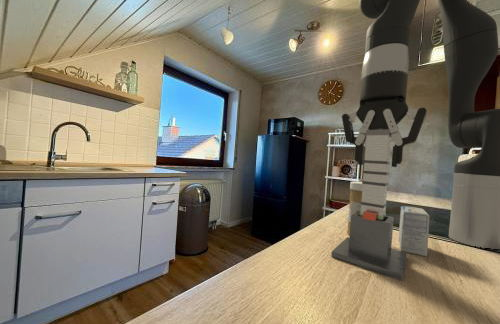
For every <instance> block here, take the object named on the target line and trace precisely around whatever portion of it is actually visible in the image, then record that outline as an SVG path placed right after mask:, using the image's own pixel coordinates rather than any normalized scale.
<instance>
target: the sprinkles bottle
mask: <svg viewBox="0 0 500 324" xmlns="http://www.w3.org/2000/svg"><path fill="white" fill-rule="evenodd" d="M349 183H350V185H349V189H350V194H349V205H348V213H347V230H346V233H347V234H348V235H349V236H350V227H351V215H353V214H354V213H356V212H357V211H361V201H362V188H363V184H362V181H350V182H349Z"/></svg>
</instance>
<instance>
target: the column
mask: <svg viewBox="0 0 500 324" xmlns="http://www.w3.org/2000/svg"><path fill="white" fill-rule="evenodd" d="M391 144H392V135H391V133H390V129H385V130H366V142H365V158H364V165H363V171H362V173H363V178H362V179H363V180H362V181H361V182H362V184H363V188H362V201H361V212H360V216H361V217H363V212H364V211H368V212H373V213H377V220H380V221H384V220H385V216H387V213H386V209H387V204H388V203H387V196H388V186H389V175H390V171H389V169H390V164H391V161H390V157H391V156H390V155H391V147H392V146H391Z"/></svg>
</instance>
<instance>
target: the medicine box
mask: <svg viewBox="0 0 500 324" xmlns="http://www.w3.org/2000/svg"><path fill="white" fill-rule="evenodd" d="M429 231H430V215H429V213H427V211H425V209H423V208H422V207H421V208H419V207H415V206H414V207H413V206H406V205H405V206H404V205H403V206H400V215H399V229H398V242H399V245H400V251H401V252H405V253H407V254H408V253H409V254H413V255H417V256H422V257H428V246H429V245H428V244H429Z"/></svg>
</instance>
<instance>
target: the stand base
mask: <svg viewBox="0 0 500 324" xmlns="http://www.w3.org/2000/svg"><path fill="white" fill-rule="evenodd" d="M360 212H361V211H357V212H356V213H354V214H353V215H351V227H350V235H349V236H347V237H346V238H345V239H344V240H343V241H341V242H340V243H339V244H338V245H337V246H336V247H335V248H334V249H333V250H331V257H332V258H334V259H337V260H340V261H344V262H346V263H348V264H352V265H355V266H357V267H361V268H364V269H367V270H370V271H372V272H376V273H378V274H382V275H384V276H388V277H390V278H393V279H395V280H399V281H403V278H404V273H405V267H406V262H407V255H408V252H404V251H401V250H397V249H394V248H392V243H393V233H394V232H393V230H394V219H395V218H394V217H393V216H388V215H386V216H385V220H384V221H380V220H377V213H373V212H368V211H364V212H363V217H361V216H360Z"/></svg>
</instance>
